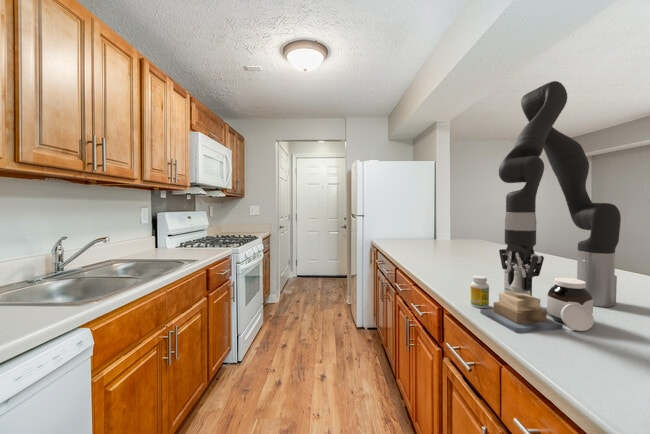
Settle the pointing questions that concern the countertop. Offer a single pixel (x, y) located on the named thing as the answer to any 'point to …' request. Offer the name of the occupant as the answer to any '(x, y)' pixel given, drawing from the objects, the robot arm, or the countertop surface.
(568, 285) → the spread jar
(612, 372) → the countertop surface
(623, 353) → the countertop surface
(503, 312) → the block tower
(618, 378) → the countertop surface
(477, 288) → the supplement bottle
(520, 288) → the rook chess piece
